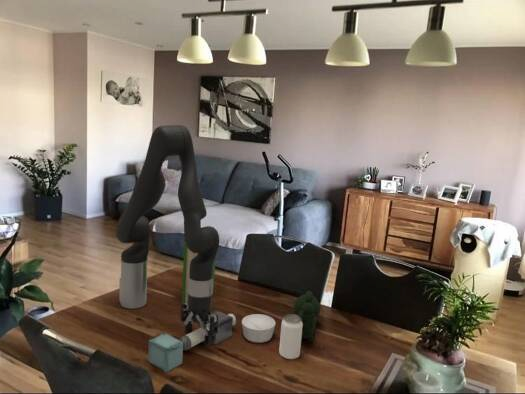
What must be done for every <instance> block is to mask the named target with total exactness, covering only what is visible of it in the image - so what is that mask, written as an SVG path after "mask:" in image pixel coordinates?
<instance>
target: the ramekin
mask: <svg viewBox="0 0 525 394" xmlns="http://www.w3.org/2000/svg"><path fill="white" fill-rule="evenodd" d="M241 326H242V334H243V336H244V338H245V339H246V340H247V341H249V342H252V343H255V344H257V343H259V344H261V343H265V342H269V341H270V340H271V338H273V335H274V331H275V328H276V321H275V319H274V318H273V317H271V316H270V315H266V314H260V313H256V314H254V313H253V314H249V315H246V316H244V317H243V318H242V320H241Z"/></svg>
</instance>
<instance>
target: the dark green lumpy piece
mask: <svg viewBox="0 0 525 394" xmlns="http://www.w3.org/2000/svg"><path fill="white" fill-rule="evenodd" d="M293 312H294V315H298V316H300V317H301V318H302V324H303V326H302V337H301V340H302V339H307V341H308V342H310V343H311V342H314V340H315V337H316V333H315V331H316V329H317V325H316V323H317V318H318V317H319V315H320V314H321V313H320V312H321V304H320V301H319V300H318V299H317V297H315V296H314V294H313V291H311V290H308V291H306V292H305V294H301V295H299V297H297V298H296V299H295V301H294V302H293Z"/></svg>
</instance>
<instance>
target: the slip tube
mask: <svg viewBox="0 0 525 394" xmlns="http://www.w3.org/2000/svg"><path fill="white" fill-rule="evenodd" d="M227 315H229V316H231V317H233V326H235V325H236V324H237V319H236V316H235V315H234V314H233V313H228V314H227ZM207 330H209V329H208V327H207ZM212 336H213V335H212ZM204 338H205V332H204V330H203V329H202V328H199V327H198V328H197V329H195V330H192V332H191V333H189V334H187V335H182V336H181V337H180V338H179V339H178V340H179V341H181V342H183V351H187V350H189V349H191V348H192V347H195V346H197V345H199V344H200V343H202V342H204Z"/></svg>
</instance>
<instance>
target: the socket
mask: <svg viewBox="0 0 525 394" xmlns="http://www.w3.org/2000/svg"><path fill="white" fill-rule="evenodd" d="M147 351H148V353H147V355H148V356H147V361H148V363H150V364H152V365H154V366H156V367H157V368H158V369H160V370H162V371H163V372H165V373H168V372H169V371H171V370H173V369H174V368H176V367H178V366H180V365H181V364H183V355H184V353H183V351H184V350H183V342H181V341H179V339H177V338H175V337H173V336H172V335H170V334H167V333H166V332H165V333H161V334H160V335H158V336H156V337H153V338H151V339H149V340H148V350H147Z"/></svg>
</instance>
